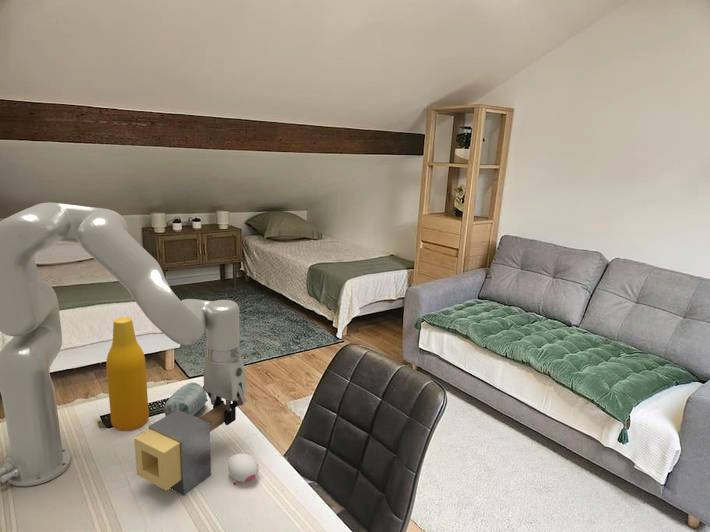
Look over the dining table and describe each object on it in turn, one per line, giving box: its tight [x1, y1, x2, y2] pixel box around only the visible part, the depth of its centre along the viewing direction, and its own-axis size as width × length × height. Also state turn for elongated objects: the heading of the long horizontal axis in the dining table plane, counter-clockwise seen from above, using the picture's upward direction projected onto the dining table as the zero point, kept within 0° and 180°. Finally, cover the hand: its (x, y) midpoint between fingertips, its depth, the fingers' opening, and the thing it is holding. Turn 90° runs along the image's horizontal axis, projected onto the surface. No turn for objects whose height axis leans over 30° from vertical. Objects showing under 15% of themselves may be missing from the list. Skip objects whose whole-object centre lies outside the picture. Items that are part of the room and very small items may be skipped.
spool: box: [163, 382, 208, 417], centre depth 133 cm, size 14×10×10 cm
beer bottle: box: [105, 316, 150, 432], centre depth 126 cm, size 9×9×29 cm
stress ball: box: [227, 453, 260, 486], centre depth 111 cm, size 8×8×7 cm
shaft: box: [198, 402, 227, 433], centre depth 113 cm, size 19×3×3 cm, turn 151°
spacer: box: [133, 429, 181, 491], centre depth 103 cm, size 4×9×9 cm, turn 61°
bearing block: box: [148, 410, 212, 497], centre depth 109 cm, size 8×10×14 cm
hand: (224, 419), depth 121 cm, fingers closed on shaft, 3 cm apart
